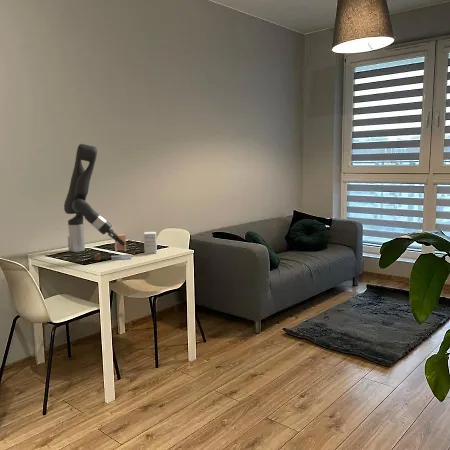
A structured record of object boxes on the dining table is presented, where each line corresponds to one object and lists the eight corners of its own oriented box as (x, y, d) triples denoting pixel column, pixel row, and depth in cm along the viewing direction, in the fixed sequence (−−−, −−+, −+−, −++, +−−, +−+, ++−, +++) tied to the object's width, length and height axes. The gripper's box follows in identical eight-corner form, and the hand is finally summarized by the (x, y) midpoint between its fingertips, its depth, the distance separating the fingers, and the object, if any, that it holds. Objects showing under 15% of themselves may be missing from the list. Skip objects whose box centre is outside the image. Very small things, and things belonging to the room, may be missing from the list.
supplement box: (145, 251, 287) (144, 231, 285) (157, 251, 288) (156, 231, 286) (144, 254, 280) (143, 233, 278) (156, 253, 280) (155, 233, 279)
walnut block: (95, 260, 264) (94, 255, 264) (95, 259, 267) (95, 254, 267) (100, 260, 265) (100, 255, 265) (100, 259, 268) (100, 254, 268)
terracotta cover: (115, 252, 265) (115, 236, 264) (115, 250, 271) (114, 234, 270) (126, 251, 267) (125, 235, 266) (125, 249, 273) (124, 233, 271)
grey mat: (111, 260, 263) (111, 259, 263) (111, 256, 273) (111, 255, 273) (131, 259, 266) (131, 258, 266) (129, 255, 276) (129, 254, 276)
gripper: (106, 221, 257) (128, 240, 262) (105, 218, 271) (126, 236, 276) (97, 231, 257) (119, 250, 262) (96, 227, 270) (118, 246, 275)
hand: (123, 243), depth 269 cm, fingers closed on terracotta cover, 6 cm apart
